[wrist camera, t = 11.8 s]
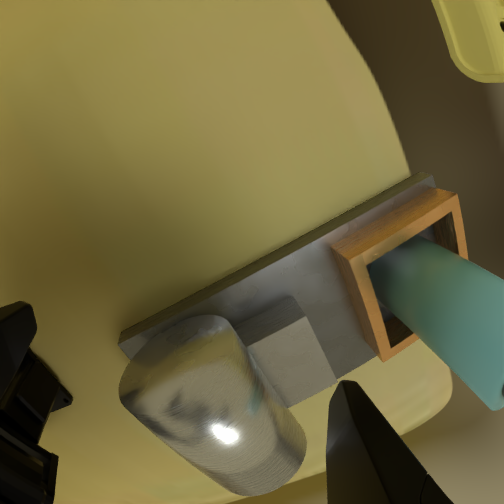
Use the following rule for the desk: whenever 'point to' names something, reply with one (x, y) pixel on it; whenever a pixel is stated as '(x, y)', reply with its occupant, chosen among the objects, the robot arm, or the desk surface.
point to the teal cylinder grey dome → (448, 310)
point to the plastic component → (474, 36)
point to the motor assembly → (277, 339)
